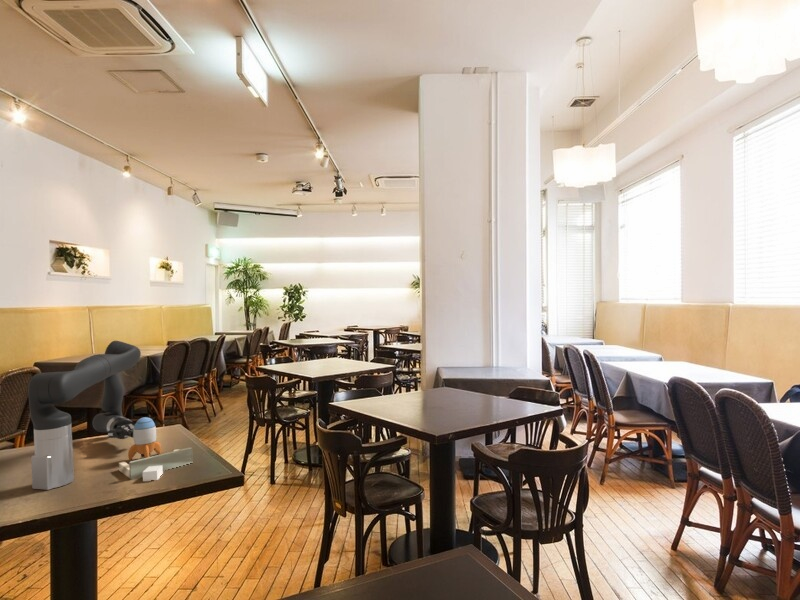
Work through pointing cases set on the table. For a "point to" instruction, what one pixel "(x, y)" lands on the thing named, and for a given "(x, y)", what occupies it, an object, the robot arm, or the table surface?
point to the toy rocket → (144, 438)
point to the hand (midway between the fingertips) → (134, 434)
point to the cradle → (157, 462)
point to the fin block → (152, 473)
